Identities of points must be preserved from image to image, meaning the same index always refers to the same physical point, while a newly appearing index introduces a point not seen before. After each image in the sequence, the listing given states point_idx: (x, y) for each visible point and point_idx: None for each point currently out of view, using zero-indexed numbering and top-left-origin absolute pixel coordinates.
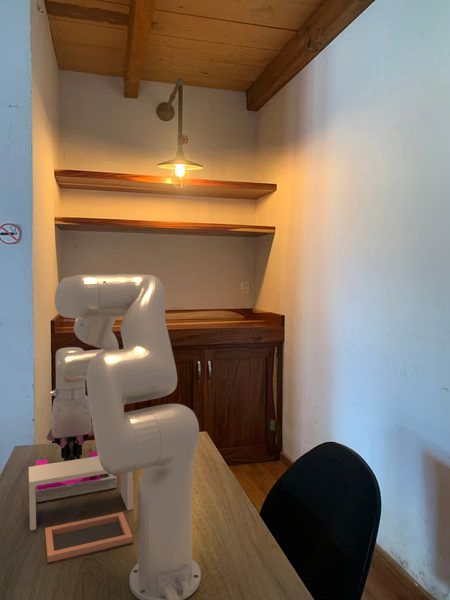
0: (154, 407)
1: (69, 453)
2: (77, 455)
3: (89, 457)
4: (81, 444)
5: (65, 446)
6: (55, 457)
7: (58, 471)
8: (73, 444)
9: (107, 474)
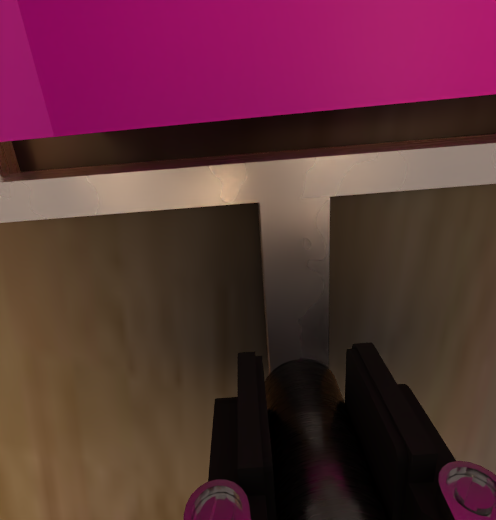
0: None
1: (336, 423)
2: (260, 380)
3: (70, 40)
4: (213, 492)
5: (419, 487)
6: None
7: None
8: (313, 516)
9: None
